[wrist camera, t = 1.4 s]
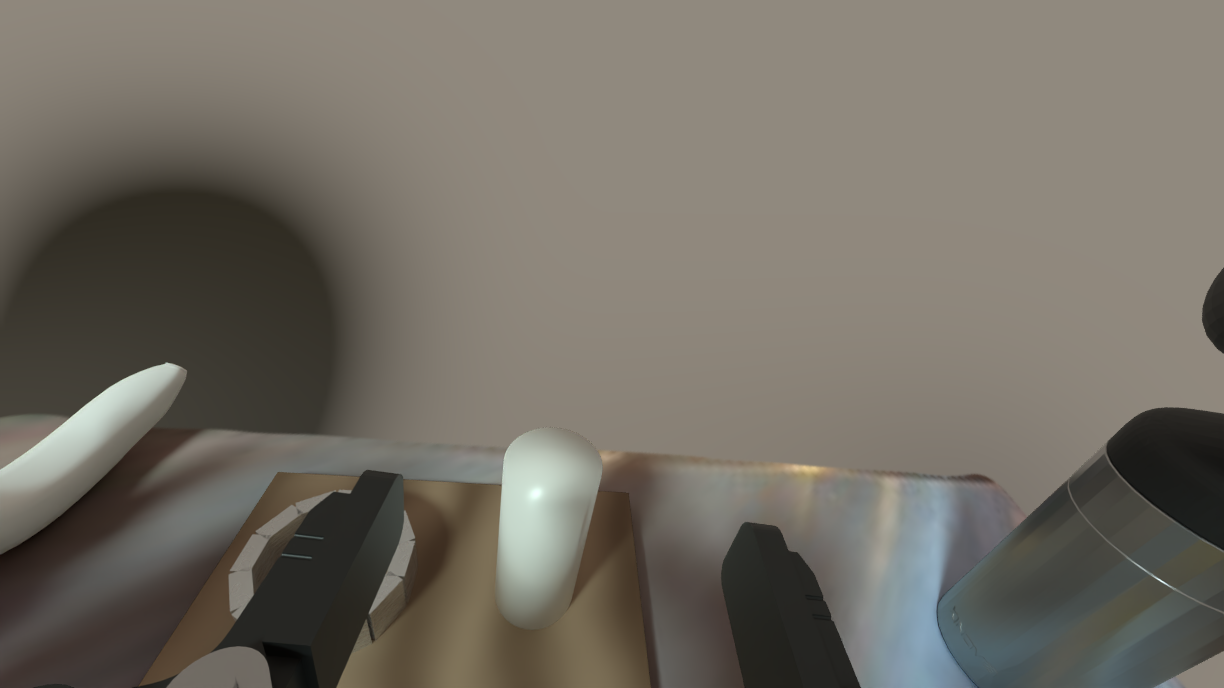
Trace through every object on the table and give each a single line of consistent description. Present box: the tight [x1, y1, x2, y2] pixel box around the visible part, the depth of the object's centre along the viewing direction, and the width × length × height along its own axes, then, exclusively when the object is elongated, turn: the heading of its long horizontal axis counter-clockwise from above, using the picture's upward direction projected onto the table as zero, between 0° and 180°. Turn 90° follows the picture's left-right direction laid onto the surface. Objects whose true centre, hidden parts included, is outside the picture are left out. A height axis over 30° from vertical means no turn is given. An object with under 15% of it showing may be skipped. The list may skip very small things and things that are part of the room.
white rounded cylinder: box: [495, 427, 603, 630], centre depth 27 cm, size 5×5×12 cm
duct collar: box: [229, 490, 418, 654], centre depth 28 cm, size 9×9×3 cm
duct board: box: [139, 472, 651, 688], centre depth 30 cm, size 26×16×2 cm, turn 94°
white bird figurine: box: [0, 363, 187, 555], centre depth 27 cm, size 5×19×15 cm, turn 179°
